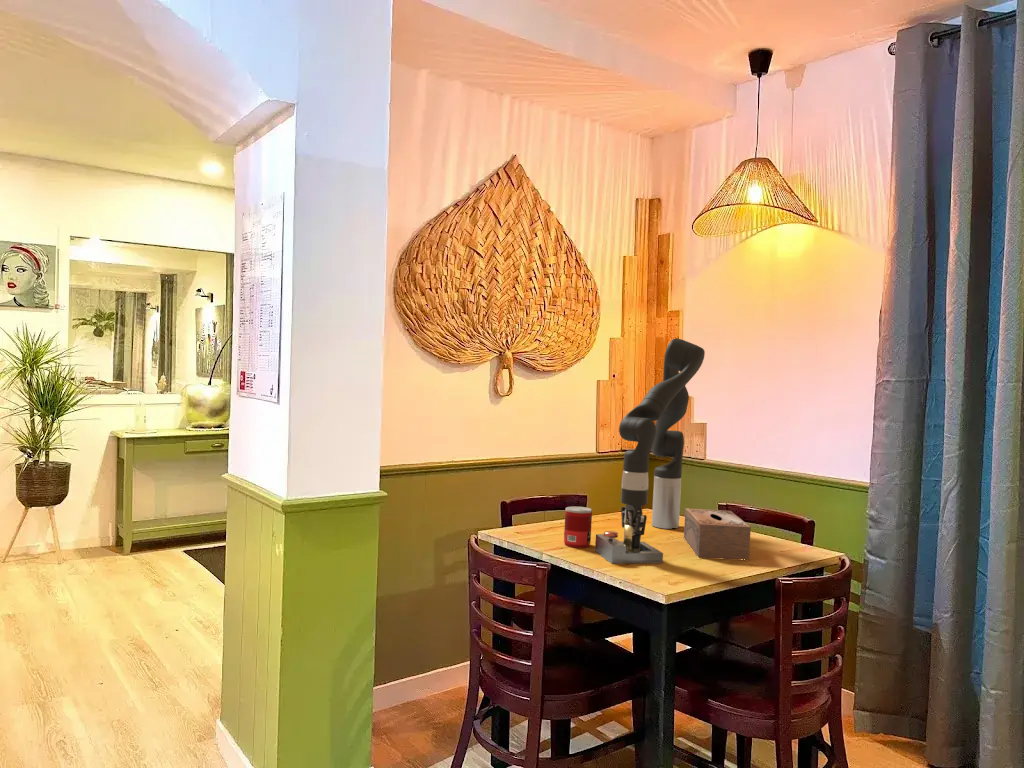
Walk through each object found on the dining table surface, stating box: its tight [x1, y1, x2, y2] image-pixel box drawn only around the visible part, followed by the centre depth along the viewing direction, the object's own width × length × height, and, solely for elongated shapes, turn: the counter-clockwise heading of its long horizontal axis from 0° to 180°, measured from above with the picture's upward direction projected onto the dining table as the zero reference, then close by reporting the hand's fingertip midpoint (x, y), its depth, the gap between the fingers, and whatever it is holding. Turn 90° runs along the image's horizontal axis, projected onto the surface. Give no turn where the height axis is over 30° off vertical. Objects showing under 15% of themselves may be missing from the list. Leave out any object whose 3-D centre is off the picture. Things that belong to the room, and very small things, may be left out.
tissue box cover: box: [683, 507, 752, 561], centre depth 233 cm, size 26×14×10 cm, turn 177°
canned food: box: [563, 506, 593, 549], centre depth 230 cm, size 8×8×11 cm
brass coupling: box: [622, 524, 642, 552], centre depth 218 cm, size 5×5×7 cm
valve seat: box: [594, 530, 664, 565], centre depth 218 cm, size 14×15×7 cm
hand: (631, 546), depth 218 cm, fingers closed on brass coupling, 4 cm apart
